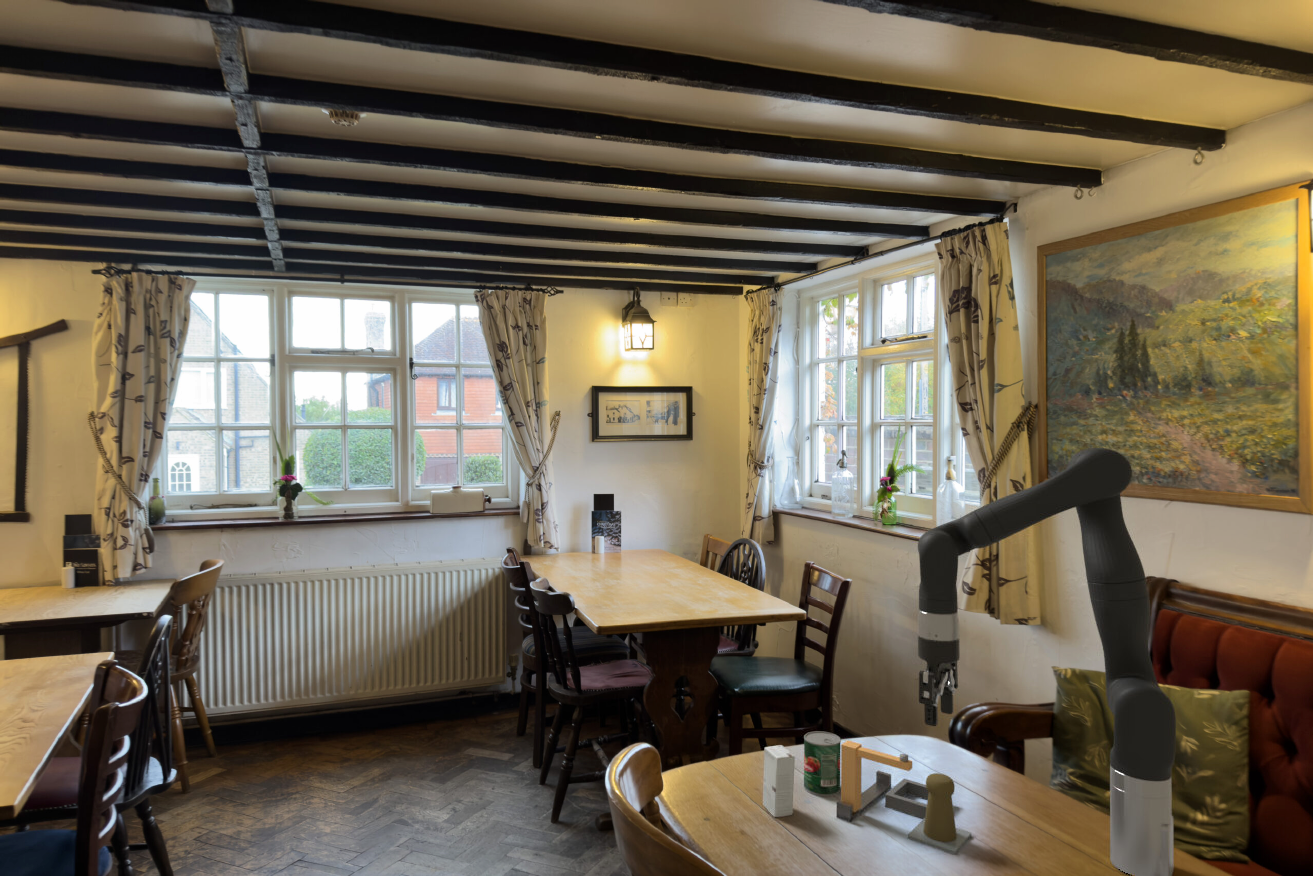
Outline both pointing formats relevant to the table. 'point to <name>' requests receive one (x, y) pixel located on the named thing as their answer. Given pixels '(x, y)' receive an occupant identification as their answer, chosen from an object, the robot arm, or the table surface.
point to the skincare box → (778, 781)
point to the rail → (865, 797)
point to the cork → (940, 809)
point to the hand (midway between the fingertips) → (939, 719)
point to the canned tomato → (822, 763)
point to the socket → (906, 805)
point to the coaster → (949, 847)
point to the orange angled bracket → (852, 769)
